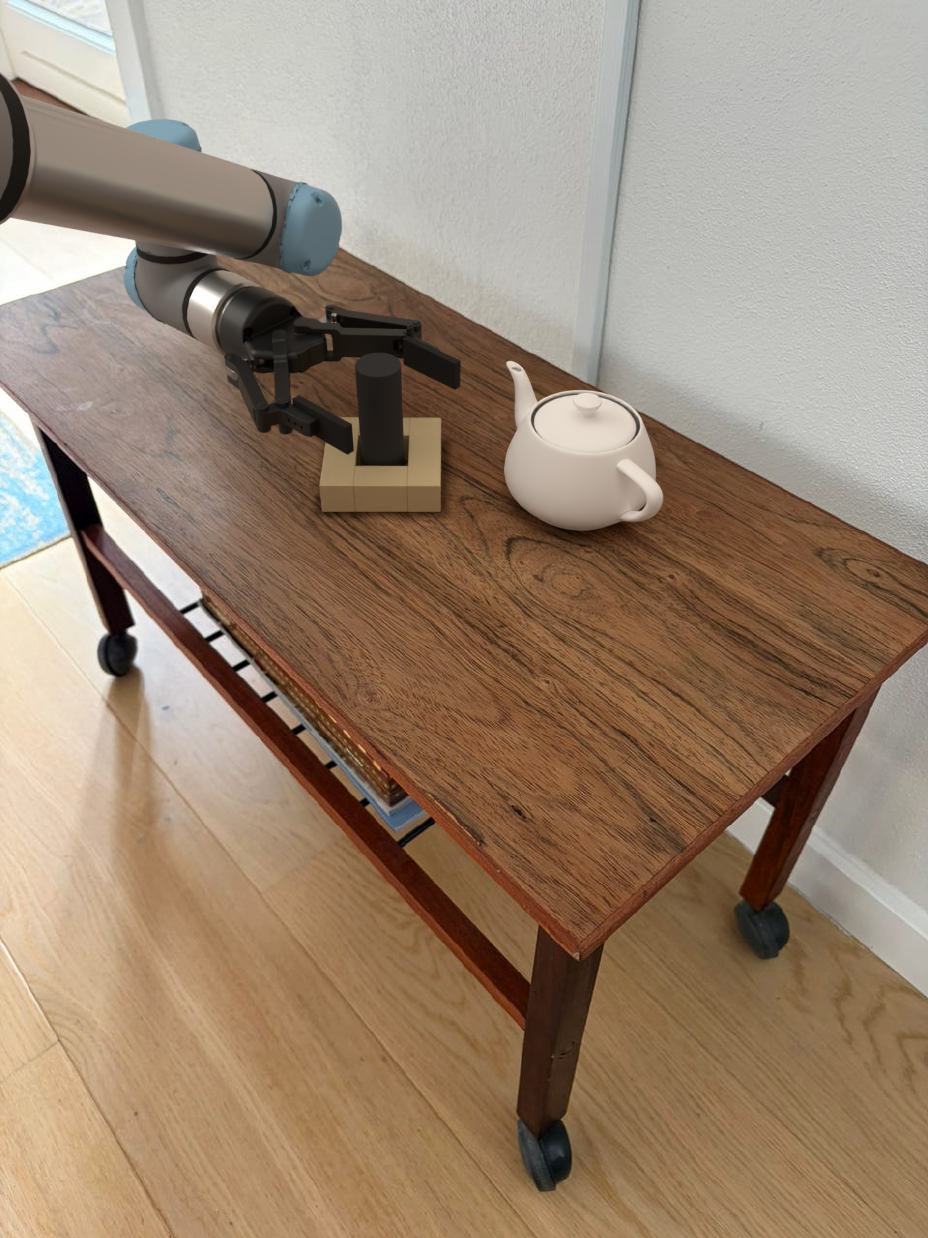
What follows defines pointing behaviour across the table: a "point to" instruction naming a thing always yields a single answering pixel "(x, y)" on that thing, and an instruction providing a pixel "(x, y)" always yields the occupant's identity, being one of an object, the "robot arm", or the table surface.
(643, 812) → the table surface
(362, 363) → the black cylinder peg
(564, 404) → the teapot
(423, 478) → the base pad
